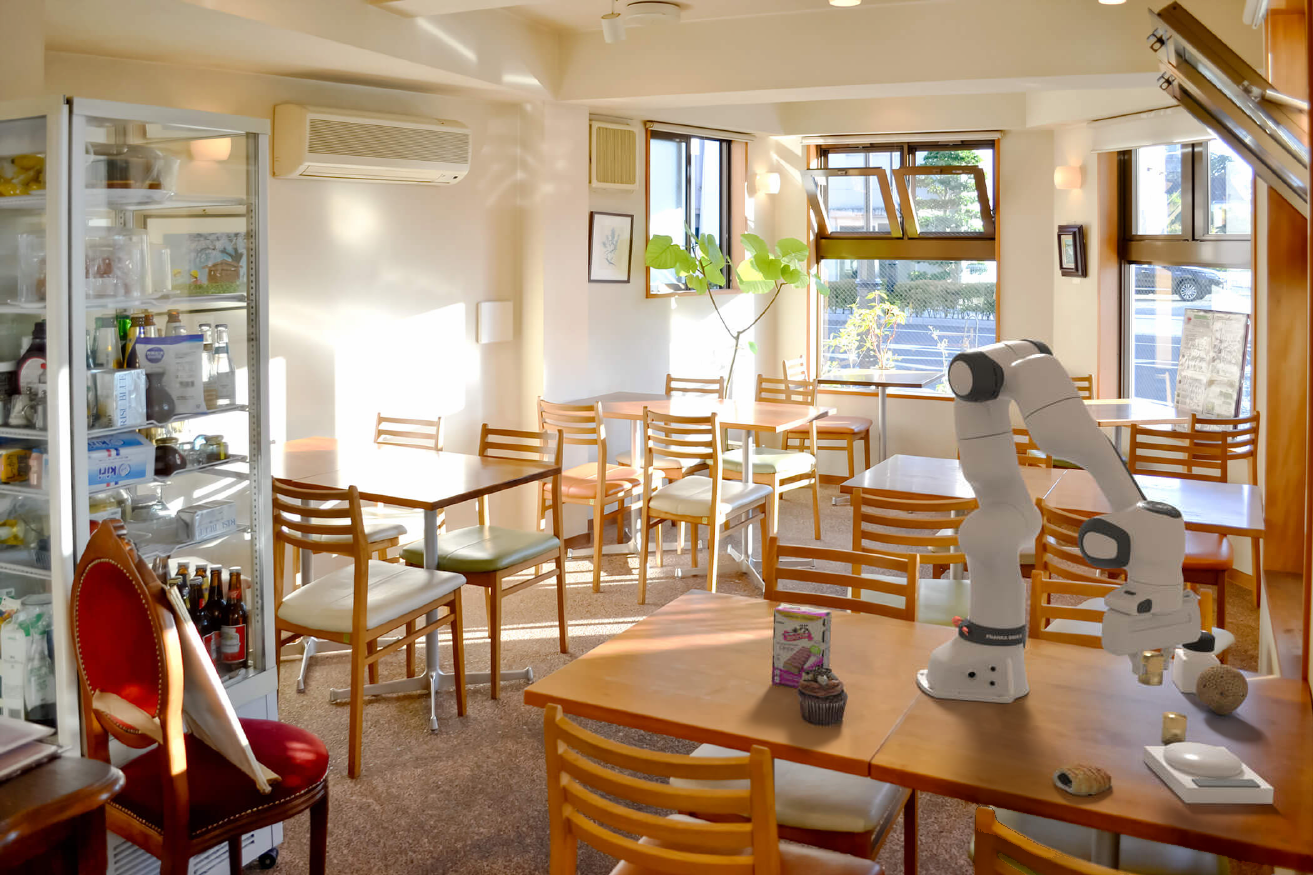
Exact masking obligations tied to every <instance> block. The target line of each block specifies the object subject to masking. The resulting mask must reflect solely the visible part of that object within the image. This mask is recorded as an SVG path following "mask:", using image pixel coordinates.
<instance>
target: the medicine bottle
mask: <svg viewBox="0 0 1313 875" xmlns="http://www.w3.org/2000/svg"><path fill="white" fill-rule="evenodd" d="M1215 645H1216V637H1215V635H1214V634H1213V633H1210V631H1206V630H1202V629H1201V635H1200V637H1199V639H1198V641H1196V642H1191V643H1186V644H1181V648H1175V652H1174V654H1173V656H1174V658H1173V672H1172V681H1173V683H1174V684H1175V686H1176V687H1177V688H1178V690H1179V691H1180V693H1182V692H1183V693H1185V694H1196V682H1197V679H1198V677H1199V675H1200V674H1201V673H1202V672H1203V671H1204V670H1205V669H1207V668H1209V667H1212V666H1214V665H1222V664H1221V662H1220V660H1219V659H1218V658H1217V657H1216V655H1214V654H1215V647H1216V646H1215Z"/></svg>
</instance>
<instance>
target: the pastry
mask: <svg viewBox="0 0 1313 875" xmlns="http://www.w3.org/2000/svg"><path fill="white" fill-rule="evenodd" d="M1052 780H1053V782H1054V784H1055V786H1056V787H1058V788H1059V789H1062V790H1064V791H1067V793H1069V794H1071V793H1072V795H1076V796H1079V797H1080V796H1081V797H1082V796H1087V797H1088V795H1090V794H1091V795H1095V794H1096V795H1097V794H1098V793H1102V792H1104V791H1106V790H1108V789H1109V788H1110V787H1111V785H1112V776H1111V774H1109V773H1108V772H1106V770H1104V769H1103V768H1102V767H1097V766H1095V767H1094V766H1092V765H1087V764H1080V763H1071V764H1063V765H1061V766H1059V767H1058V769H1056V771H1054V773H1053V774H1052Z"/></svg>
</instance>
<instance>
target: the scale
mask: <svg viewBox="0 0 1313 875" xmlns="http://www.w3.org/2000/svg"><path fill="white" fill-rule="evenodd" d="M1142 757H1143V758H1142V760H1143V762H1144V763H1145V764H1146V765H1147V766H1148V767H1149V768H1150V769H1151V770H1152V771H1153V772H1154V773H1155V774H1156V775H1157V776H1158V777H1160V779H1161V780H1162V781H1163V782H1165V784H1166V785H1167V786H1168V787H1169V788H1171V789H1172V791H1173V792H1174V793H1175V794H1176V795H1177V796H1178V797H1180V799H1181V800H1182V801H1183V802H1184V803H1185V804H1256V805H1257V804H1258V805H1259V804H1273V800H1274V787H1273V786H1271V784H1269V783H1268V782H1266V781H1265V780H1264V779H1263V778H1262V777H1261V776H1259V775H1258V774H1257V773H1256V772H1255V771H1253V769H1251V768H1249V767H1248V765H1246V764H1245V763H1244V762H1242V760H1241V759H1240V758H1239V757H1238V756H1237V755H1235V754H1234V753H1233V752H1230V750H1228V749H1227V748H1226V747H1225V746H1214V745H1210V744H1205V743H1200V742H1191V741H1190V742H1187V741H1185V742H1179V743H1173V744H1169V745H1167V744H1166V745H1165V746H1164V745H1163V746H1161V745H1160V746H1159V745H1158V746H1157V745H1155V746H1154V745H1144V746H1143V756H1142Z"/></svg>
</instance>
